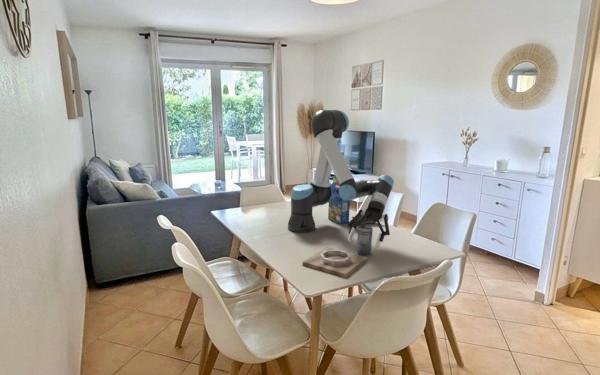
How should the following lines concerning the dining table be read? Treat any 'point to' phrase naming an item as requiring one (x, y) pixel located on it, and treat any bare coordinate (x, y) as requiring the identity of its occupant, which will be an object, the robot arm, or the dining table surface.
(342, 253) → the steel ring
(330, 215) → the blue food package
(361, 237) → the cylinder
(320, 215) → the dining table surface
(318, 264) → the walnut board
